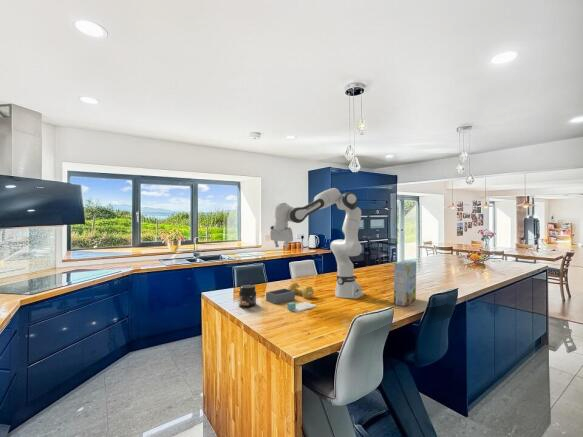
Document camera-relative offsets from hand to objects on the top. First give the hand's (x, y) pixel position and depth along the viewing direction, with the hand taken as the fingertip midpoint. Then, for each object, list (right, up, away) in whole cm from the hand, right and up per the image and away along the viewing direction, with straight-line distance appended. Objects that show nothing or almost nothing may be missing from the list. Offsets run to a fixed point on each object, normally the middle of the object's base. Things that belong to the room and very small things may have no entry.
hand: (281, 247), depth 193 cm
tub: (0, -34, -6) cm, 35 cm away
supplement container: (-20, -34, -16) cm, 43 cm away
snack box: (+80, -34, -8) cm, 88 cm away
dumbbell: (+13, -35, +6) cm, 37 cm away
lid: (+13, -34, -19) cm, 41 cm away
